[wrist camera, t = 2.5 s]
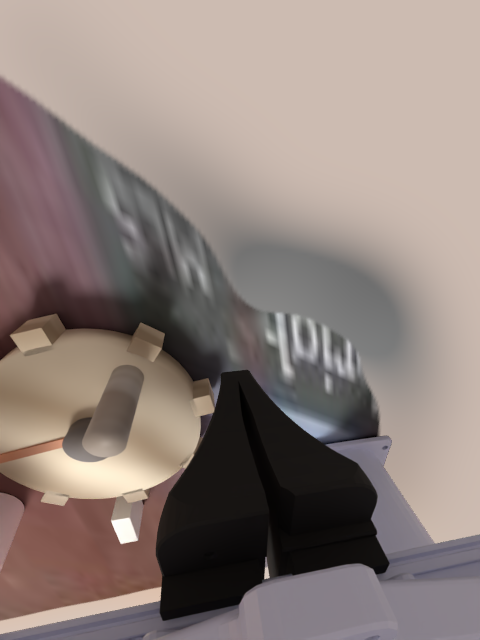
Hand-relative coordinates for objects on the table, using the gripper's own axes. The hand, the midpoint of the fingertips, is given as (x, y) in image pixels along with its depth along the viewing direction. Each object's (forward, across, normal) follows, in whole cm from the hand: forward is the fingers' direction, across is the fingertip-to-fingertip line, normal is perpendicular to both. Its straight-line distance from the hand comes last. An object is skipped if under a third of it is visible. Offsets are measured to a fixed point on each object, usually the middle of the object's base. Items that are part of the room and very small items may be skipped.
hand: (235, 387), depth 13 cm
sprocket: (+3, +8, +4) cm, 9 cm away
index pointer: (+3, +8, +13) cm, 15 cm away
